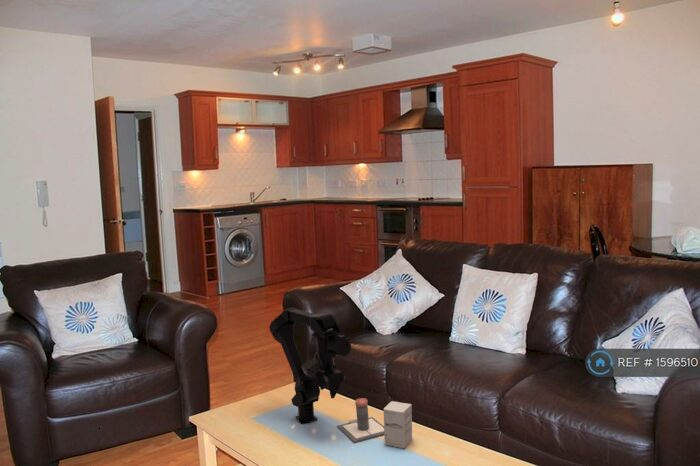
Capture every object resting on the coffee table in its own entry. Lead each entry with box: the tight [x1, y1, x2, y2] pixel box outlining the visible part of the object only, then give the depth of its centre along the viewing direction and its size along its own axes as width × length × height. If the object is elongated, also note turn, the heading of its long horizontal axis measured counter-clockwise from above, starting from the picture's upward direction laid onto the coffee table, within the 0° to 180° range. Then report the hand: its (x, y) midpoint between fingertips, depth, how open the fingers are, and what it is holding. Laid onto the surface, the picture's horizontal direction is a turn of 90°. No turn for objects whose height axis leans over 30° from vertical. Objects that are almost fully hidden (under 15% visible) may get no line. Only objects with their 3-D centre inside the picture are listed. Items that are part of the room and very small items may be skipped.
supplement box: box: [383, 400, 413, 449], centre depth 196 cm, size 7×7×13 cm
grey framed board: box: [336, 416, 384, 444], centre depth 206 cm, size 14×14×1 cm
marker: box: [354, 397, 370, 431], centre depth 206 cm, size 4×4×10 cm
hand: (327, 393), depth 207 cm, fingers open, 9 cm apart
